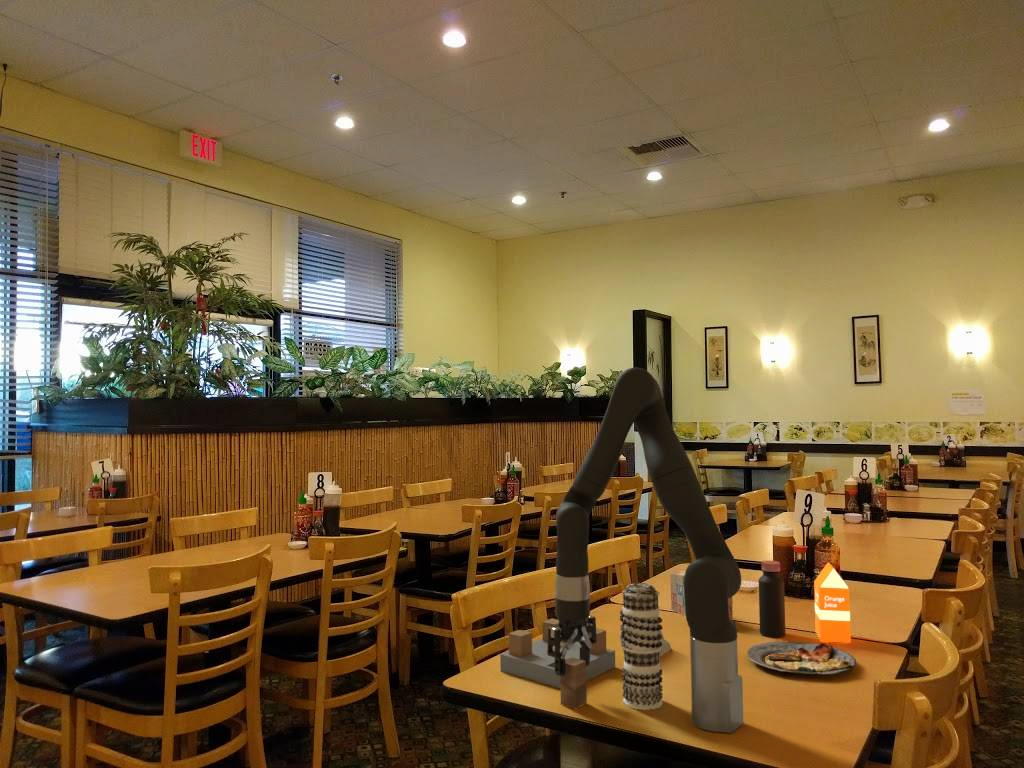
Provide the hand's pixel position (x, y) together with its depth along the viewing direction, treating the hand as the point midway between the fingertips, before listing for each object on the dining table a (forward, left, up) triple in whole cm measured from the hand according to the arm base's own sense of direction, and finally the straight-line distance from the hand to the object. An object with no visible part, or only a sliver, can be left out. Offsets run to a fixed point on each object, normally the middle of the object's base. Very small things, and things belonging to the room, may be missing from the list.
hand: (572, 670), depth 162 cm
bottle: (-13, -74, -7) cm, 76 cm away
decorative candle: (-11, -9, -7) cm, 16 cm away
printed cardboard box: (+10, -77, -7) cm, 78 cm away
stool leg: (0, +1, -7) cm, 7 cm away
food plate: (-28, -55, -7) cm, 63 cm away
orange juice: (-27, -81, -7) cm, 86 cm away
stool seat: (+16, -14, -7) cm, 22 cm away
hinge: (+5, -37, -7) cm, 38 cm away
